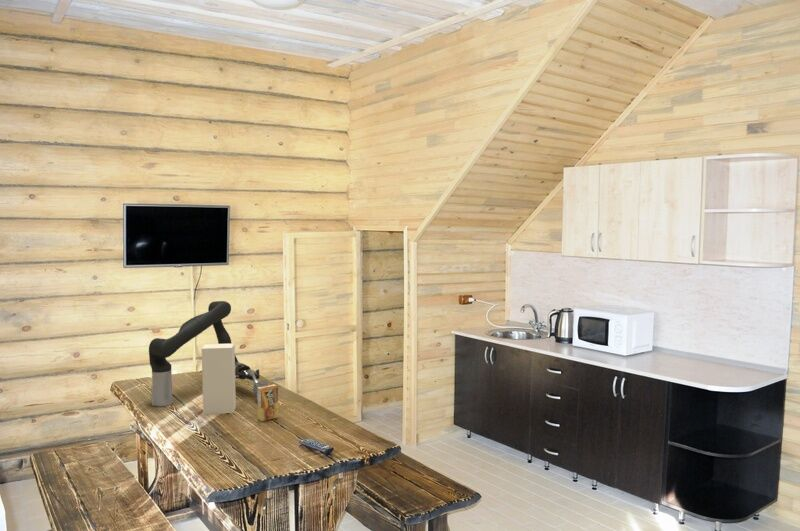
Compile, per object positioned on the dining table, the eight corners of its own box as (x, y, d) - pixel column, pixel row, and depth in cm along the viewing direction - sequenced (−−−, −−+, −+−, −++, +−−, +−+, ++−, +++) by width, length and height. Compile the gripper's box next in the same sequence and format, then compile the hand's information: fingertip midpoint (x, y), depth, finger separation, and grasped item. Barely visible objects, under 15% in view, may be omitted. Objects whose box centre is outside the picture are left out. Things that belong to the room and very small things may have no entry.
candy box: (274, 415, 301) (273, 383, 299) (278, 417, 297) (278, 385, 296) (257, 419, 295) (256, 387, 294) (261, 421, 292) (261, 389, 290)
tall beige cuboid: (203, 414, 302) (201, 348, 299) (206, 408, 312) (205, 344, 309) (233, 413, 304) (231, 347, 301) (235, 406, 314) (234, 343, 311)
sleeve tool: (258, 399, 318) (260, 391, 316) (243, 374, 330) (245, 367, 328) (268, 397, 322) (271, 389, 319) (254, 372, 334) (256, 365, 332)
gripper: (228, 365, 335) (242, 372, 322) (253, 361, 344) (267, 368, 330) (228, 379, 336) (242, 387, 322) (253, 375, 344) (267, 382, 331)
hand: (255, 377), depth 326 cm, fingers closed on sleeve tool, 3 cm apart
